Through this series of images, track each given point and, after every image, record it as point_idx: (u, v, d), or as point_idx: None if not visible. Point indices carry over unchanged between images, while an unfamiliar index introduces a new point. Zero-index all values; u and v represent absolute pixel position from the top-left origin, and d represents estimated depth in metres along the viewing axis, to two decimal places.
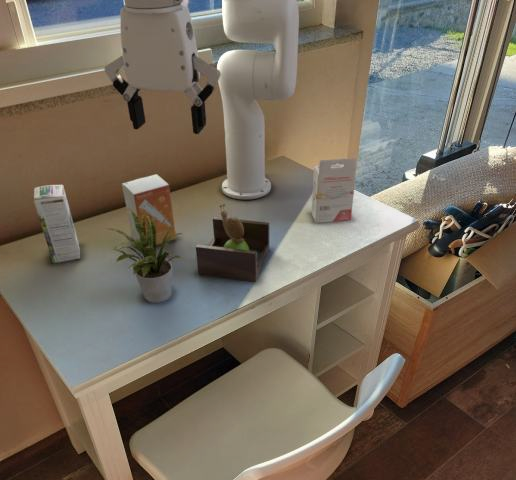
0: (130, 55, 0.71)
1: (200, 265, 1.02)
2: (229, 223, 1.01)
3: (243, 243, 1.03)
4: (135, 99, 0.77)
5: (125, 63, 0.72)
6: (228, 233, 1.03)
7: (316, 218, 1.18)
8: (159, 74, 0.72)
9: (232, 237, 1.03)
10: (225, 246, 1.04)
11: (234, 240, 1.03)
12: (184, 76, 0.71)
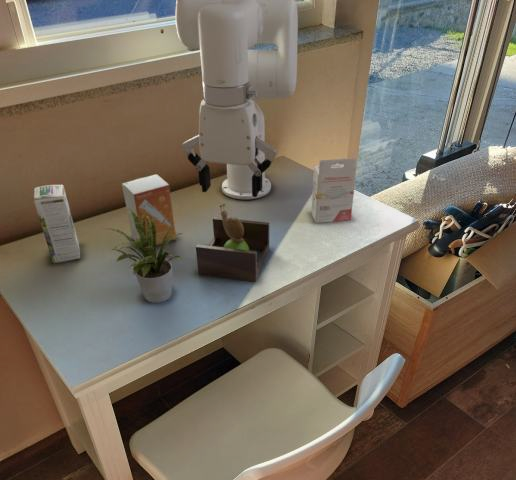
0: (205, 138, 0.88)
1: (200, 265, 1.02)
2: (229, 223, 1.01)
3: (243, 243, 1.03)
4: (205, 169, 0.94)
5: (201, 143, 0.89)
6: (228, 233, 1.03)
7: (316, 218, 1.18)
8: (228, 152, 0.89)
9: (232, 237, 1.03)
10: (225, 246, 1.04)
11: (234, 240, 1.03)
12: (249, 154, 0.89)
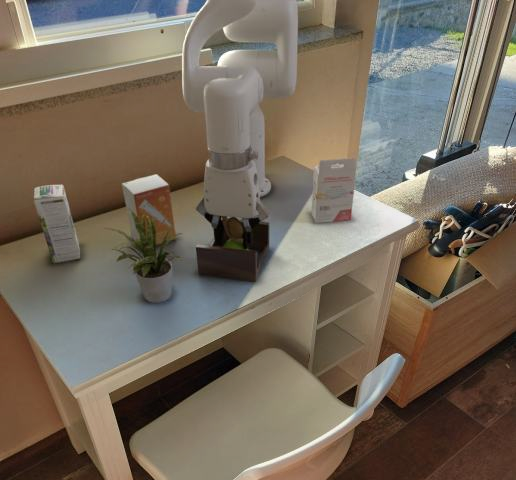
0: (210, 194, 0.96)
1: (200, 265, 1.02)
2: (228, 223, 1.01)
3: (242, 243, 1.03)
4: (220, 226, 1.02)
5: (206, 199, 0.97)
6: (228, 233, 1.03)
7: (316, 218, 1.18)
8: (231, 207, 0.96)
9: (231, 237, 1.03)
10: (224, 246, 1.04)
11: (233, 240, 1.03)
12: (250, 209, 0.96)
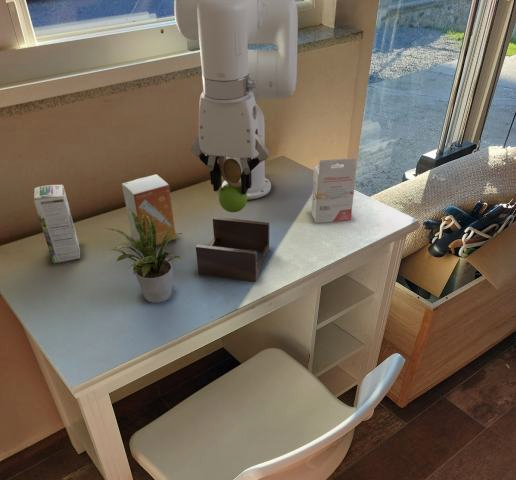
0: (205, 131, 0.88)
1: (200, 265, 1.02)
2: (226, 165, 0.93)
3: (240, 188, 0.96)
4: (216, 168, 0.94)
5: (200, 136, 0.89)
6: (225, 177, 0.96)
7: (316, 218, 1.18)
8: (228, 145, 0.89)
9: (229, 181, 0.95)
10: (221, 191, 0.96)
11: (231, 184, 0.95)
12: (249, 147, 0.88)
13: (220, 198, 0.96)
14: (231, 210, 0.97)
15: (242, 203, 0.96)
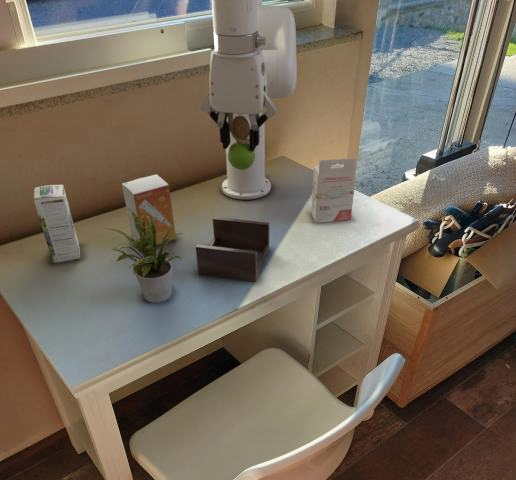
0: (216, 87, 0.93)
1: (200, 265, 1.02)
2: (235, 122, 0.98)
3: (249, 145, 1.00)
4: (226, 126, 0.99)
5: (211, 93, 0.94)
6: (233, 134, 1.00)
7: (316, 218, 1.18)
8: (238, 101, 0.93)
9: (237, 138, 1.00)
10: (230, 148, 1.01)
11: (239, 141, 1.00)
12: (257, 103, 0.93)
13: (229, 155, 1.01)
14: (239, 167, 1.01)
15: (250, 160, 1.01)
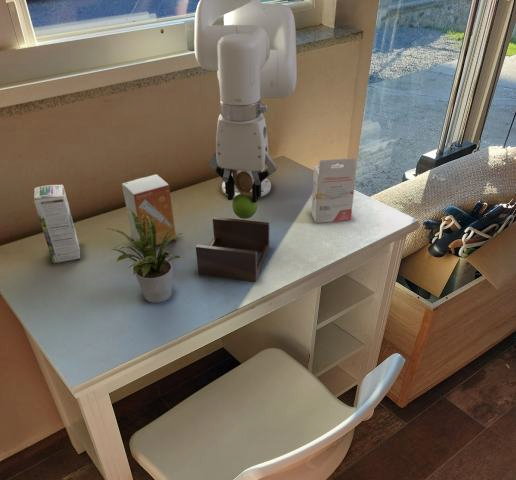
0: (222, 147, 1.02)
1: (200, 265, 1.02)
2: (239, 177, 1.07)
3: (251, 197, 1.09)
4: (231, 180, 1.08)
5: (217, 152, 1.03)
6: (238, 187, 1.09)
7: (316, 218, 1.18)
8: (242, 160, 1.02)
9: (241, 191, 1.09)
10: (234, 200, 1.10)
11: (243, 194, 1.09)
12: (259, 162, 1.02)
13: (233, 206, 1.10)
14: (243, 216, 1.10)
15: (252, 210, 1.10)
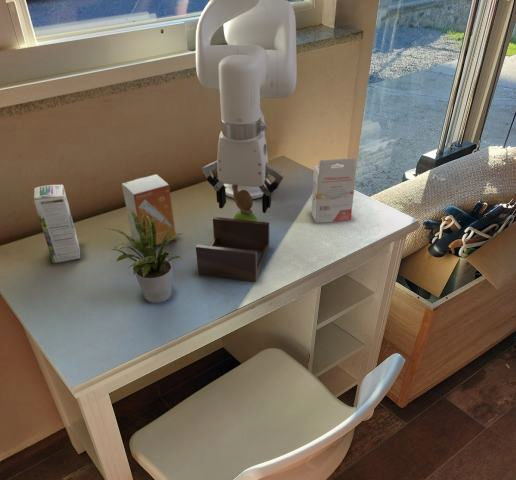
0: (223, 164, 1.04)
1: (200, 265, 1.02)
2: (239, 195, 1.09)
3: (252, 214, 1.12)
4: (222, 189, 1.10)
5: (219, 168, 1.05)
6: (238, 205, 1.12)
7: (316, 218, 1.18)
8: (242, 176, 1.05)
9: (241, 209, 1.11)
10: (235, 217, 1.12)
11: (243, 211, 1.11)
12: (260, 178, 1.04)
13: None
14: None
15: None
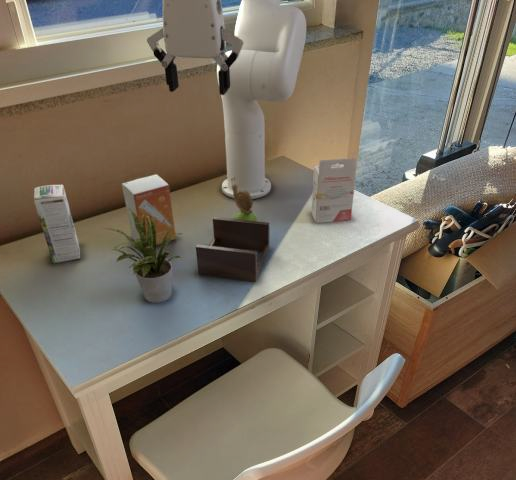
0: (170, 27, 0.87)
1: (200, 265, 1.02)
2: (239, 195, 1.09)
3: (252, 214, 1.12)
4: (171, 66, 0.93)
5: (165, 34, 0.88)
6: (238, 205, 1.12)
7: (316, 218, 1.18)
8: (193, 43, 0.87)
9: (241, 209, 1.11)
10: (235, 217, 1.12)
11: (243, 211, 1.11)
12: (214, 45, 0.87)
13: None
14: None
15: None
